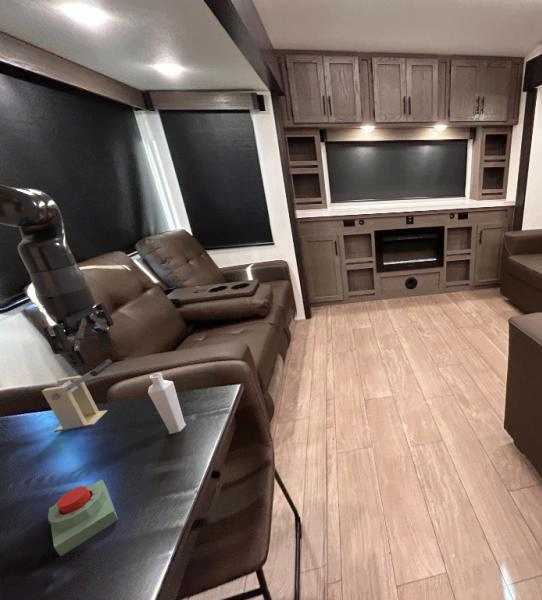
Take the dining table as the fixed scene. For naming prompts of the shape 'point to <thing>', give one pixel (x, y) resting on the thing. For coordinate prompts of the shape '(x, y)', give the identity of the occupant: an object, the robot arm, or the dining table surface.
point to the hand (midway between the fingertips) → (95, 355)
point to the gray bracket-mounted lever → (87, 375)
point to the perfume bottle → (166, 402)
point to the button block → (82, 519)
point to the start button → (74, 500)
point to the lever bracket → (72, 405)
